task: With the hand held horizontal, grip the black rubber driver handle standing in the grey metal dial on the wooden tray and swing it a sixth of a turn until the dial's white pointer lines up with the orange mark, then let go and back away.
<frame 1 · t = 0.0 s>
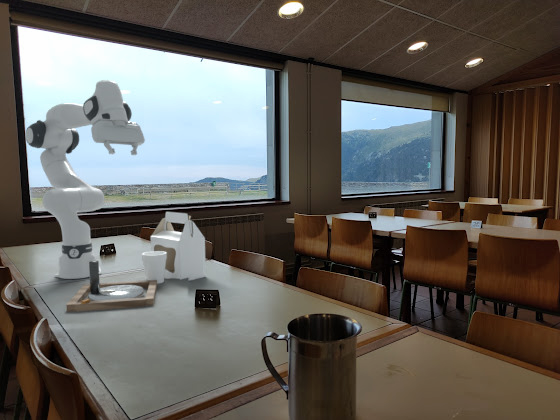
hand: (123, 154, 156), 52 cm above the table, tool tilted 20°, fingers open, 8 cm apart
wooden tray: (116, 301, 144), on the table
dial: (116, 279, 143), point 8 cm above the table, hinge at 0.0°
gable box: (178, 276, 181), on the table
foam cup: (155, 285, 165), on the table
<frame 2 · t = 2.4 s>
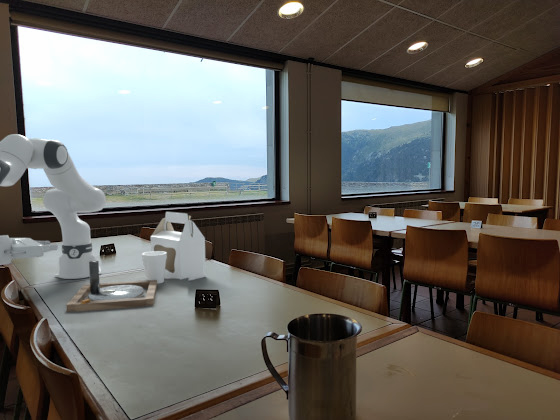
hand: (53, 245, 133), 21 cm above the table, tool horizontal, fingers open, 8 cm apart
nothing on the table moved.
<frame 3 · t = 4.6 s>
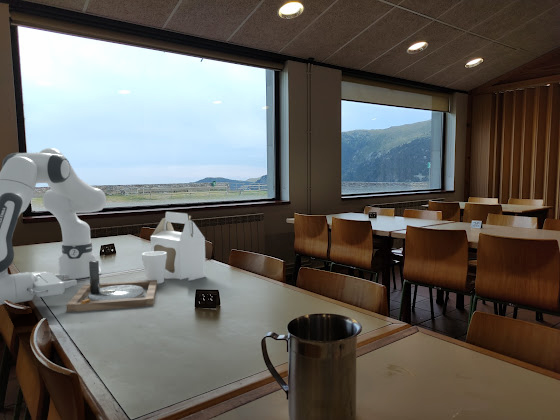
hand: (72, 279, 138), 9 cm above the table, tool horizontal, fingers open, 8 cm apart
nothing on the table moved.
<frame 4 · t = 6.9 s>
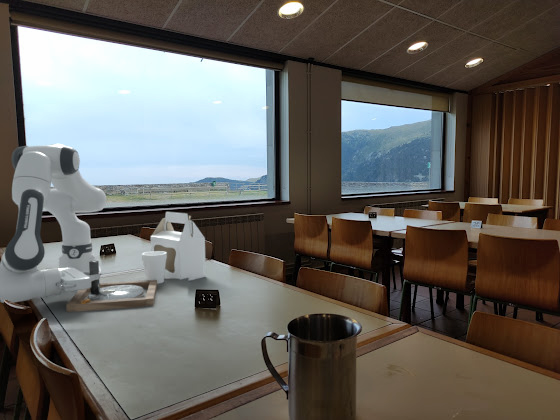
hand: (97, 275, 143), 10 cm above the table, tool horizontal, fingers closed on dial, 3 cm apart
dial: (116, 279, 143), point 8 cm above the table, hinge at 0.0°, touching gripper
everything else where it was.
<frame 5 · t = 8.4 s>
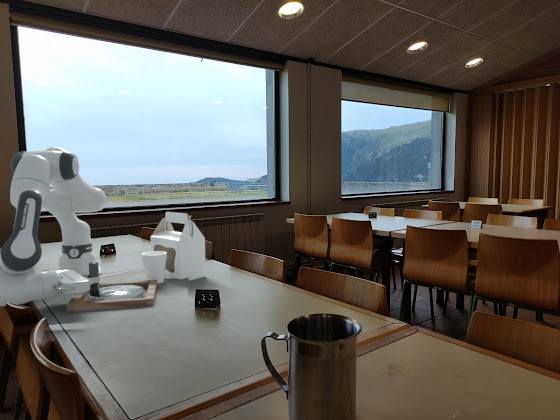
hand: (95, 277, 139), 9 cm above the table, tool horizontal, fingers open, 5 cm apart
dial: (116, 279, 143), point 8 cm above the table, hinge at 22.1°, touching gripper
everything else where it was.
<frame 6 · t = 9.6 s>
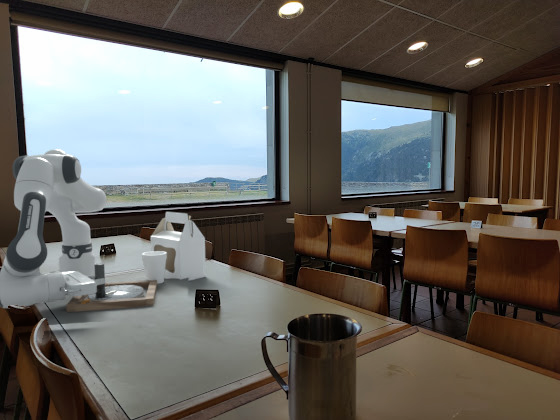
hand: (102, 279, 137), 9 cm above the table, tool horizontal, fingers closed on dial, 3 cm apart
dial: (116, 279, 143), point 8 cm above the table, hinge at 56.2°, touching gripper
everything else where it was.
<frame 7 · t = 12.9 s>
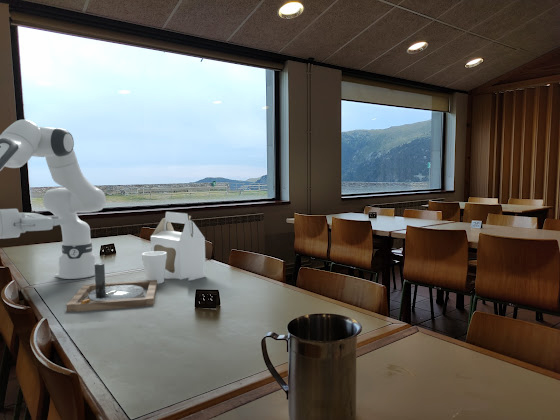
hand: (61, 219, 134), 30 cm above the table, tool horizontal, fingers open, 8 cm apart
dial: (116, 279, 143), point 8 cm above the table, hinge at 56.7°
everything else where it was.
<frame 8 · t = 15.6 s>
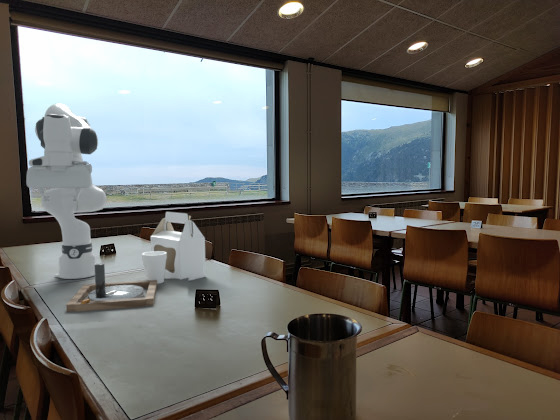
hand: (61, 201, 144), 35 cm above the table, tool pointing down, fingers open, 8 cm apart
nothing on the table moved.
at the end: dial at +57° (first picture: +0°); the gripper is holding nothing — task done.
